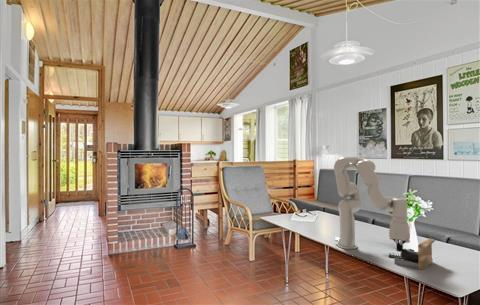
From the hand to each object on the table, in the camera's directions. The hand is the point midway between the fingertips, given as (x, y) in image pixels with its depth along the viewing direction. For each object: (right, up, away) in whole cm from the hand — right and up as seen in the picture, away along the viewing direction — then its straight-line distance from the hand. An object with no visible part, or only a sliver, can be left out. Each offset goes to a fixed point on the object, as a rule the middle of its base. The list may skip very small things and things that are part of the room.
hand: (399, 250), depth 177 cm
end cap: (+5, -5, -5) cm, 9 cm away
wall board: (+9, -5, -10) cm, 14 cm away
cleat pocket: (+4, -5, -5) cm, 8 cm away
